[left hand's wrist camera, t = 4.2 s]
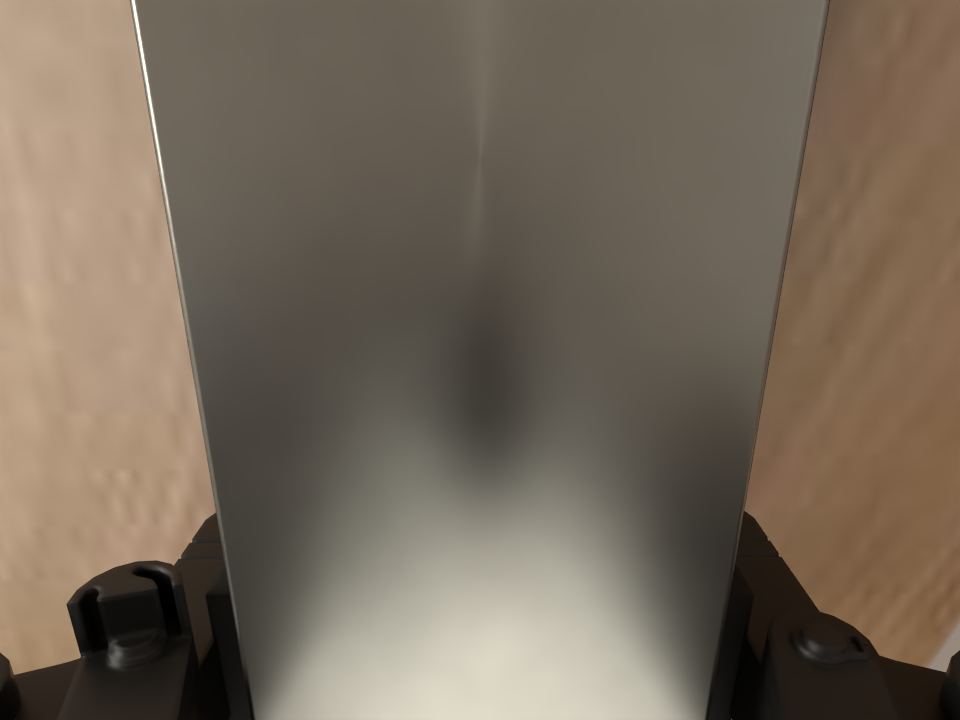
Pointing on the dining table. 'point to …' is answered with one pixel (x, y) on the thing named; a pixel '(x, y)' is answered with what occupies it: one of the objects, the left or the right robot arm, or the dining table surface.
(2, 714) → the left robot arm
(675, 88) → the bar
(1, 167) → the dining table surface
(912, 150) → the dining table surface
